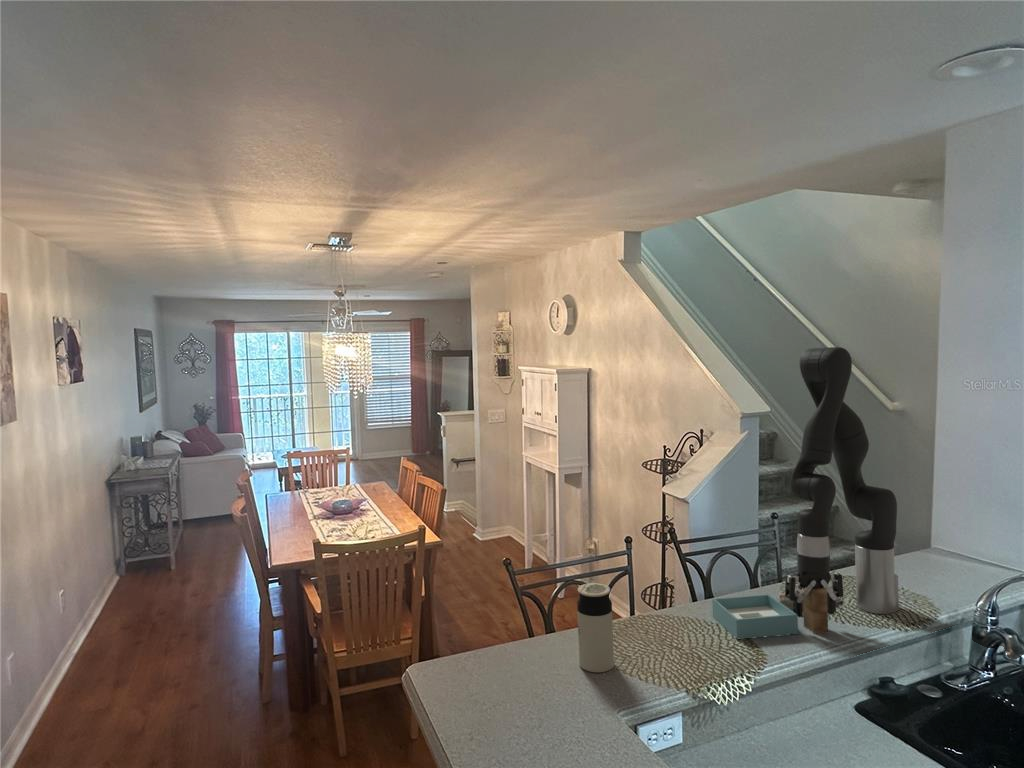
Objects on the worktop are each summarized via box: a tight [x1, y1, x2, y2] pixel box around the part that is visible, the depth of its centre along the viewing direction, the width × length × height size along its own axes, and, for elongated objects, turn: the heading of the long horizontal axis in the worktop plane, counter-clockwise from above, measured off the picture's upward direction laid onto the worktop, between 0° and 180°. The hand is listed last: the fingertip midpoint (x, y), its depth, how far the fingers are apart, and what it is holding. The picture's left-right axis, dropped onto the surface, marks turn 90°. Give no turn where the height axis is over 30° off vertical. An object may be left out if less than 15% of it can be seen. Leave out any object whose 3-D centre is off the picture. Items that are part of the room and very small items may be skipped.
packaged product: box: [778, 585, 842, 618], centre depth 172 cm, size 18×5×10 cm
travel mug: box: [576, 582, 615, 673], centre depth 142 cm, size 8×8×18 cm
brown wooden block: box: [803, 588, 829, 634], centre depth 156 cm, size 4×4×11 cm
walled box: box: [712, 593, 799, 640], centre depth 159 cm, size 16×14×5 cm
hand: (814, 614), depth 156 cm, fingers open, 8 cm apart
